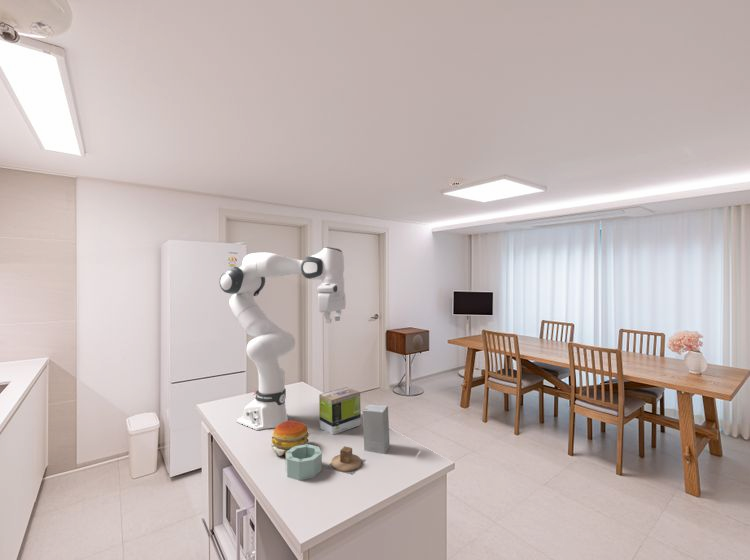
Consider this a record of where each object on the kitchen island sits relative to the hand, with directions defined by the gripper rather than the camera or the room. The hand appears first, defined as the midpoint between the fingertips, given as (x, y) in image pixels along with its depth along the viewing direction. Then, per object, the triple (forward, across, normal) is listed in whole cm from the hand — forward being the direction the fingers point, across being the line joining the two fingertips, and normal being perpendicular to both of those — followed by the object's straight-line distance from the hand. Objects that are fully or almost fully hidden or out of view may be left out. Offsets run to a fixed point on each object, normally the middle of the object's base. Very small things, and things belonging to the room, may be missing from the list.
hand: (333, 322), depth 139 cm
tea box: (+46, -10, -1) cm, 47 cm away
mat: (+46, +19, +12) cm, 51 cm away
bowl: (+46, +26, 0) cm, 53 cm away
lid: (+46, +19, +12) cm, 51 cm away
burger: (+46, +14, -11) cm, 50 cm away
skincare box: (+46, +6, +19) cm, 50 cm away
